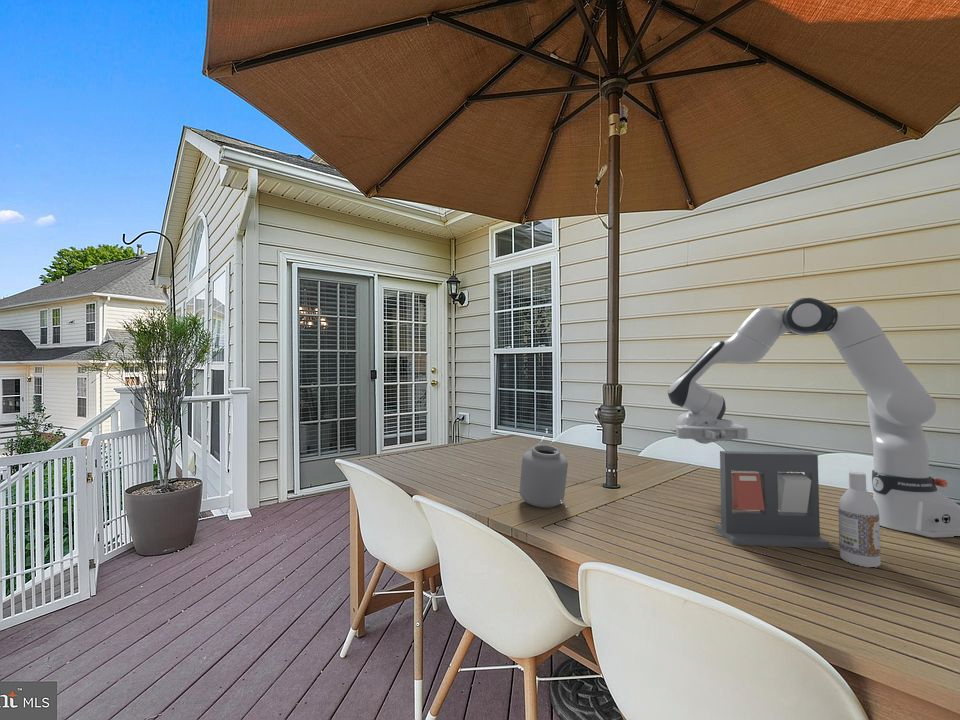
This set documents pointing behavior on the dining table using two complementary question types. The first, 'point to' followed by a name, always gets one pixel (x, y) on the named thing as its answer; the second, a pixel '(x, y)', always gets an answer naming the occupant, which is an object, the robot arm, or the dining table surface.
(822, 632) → the dining table surface
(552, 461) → the jar
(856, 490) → the bath foam
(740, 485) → the red rocker
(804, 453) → the switch panel
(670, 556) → the dining table surface
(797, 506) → the grey rocker
